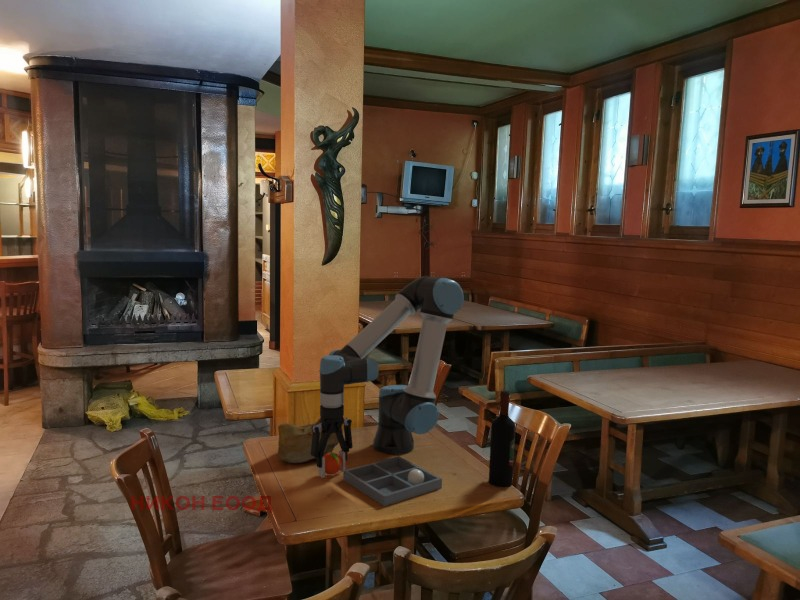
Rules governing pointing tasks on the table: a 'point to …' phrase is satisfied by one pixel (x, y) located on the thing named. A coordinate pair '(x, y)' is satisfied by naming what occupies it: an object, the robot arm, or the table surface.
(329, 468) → the clementine
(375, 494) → the divided tray
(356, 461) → the table surface
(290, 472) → the table surface
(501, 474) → the wine bottle
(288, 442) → the rough brown rock
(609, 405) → the table surface
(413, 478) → the cream egg
